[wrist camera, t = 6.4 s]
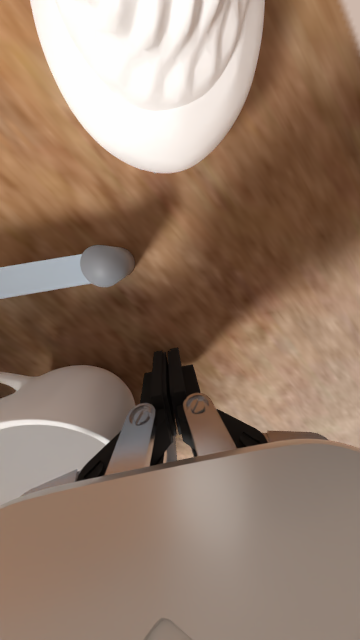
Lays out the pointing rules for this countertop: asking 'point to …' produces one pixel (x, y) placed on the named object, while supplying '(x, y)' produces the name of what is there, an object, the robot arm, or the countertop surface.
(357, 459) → the robot arm
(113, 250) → the bay
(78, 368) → the teacup
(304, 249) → the countertop surface
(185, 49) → the muffin
